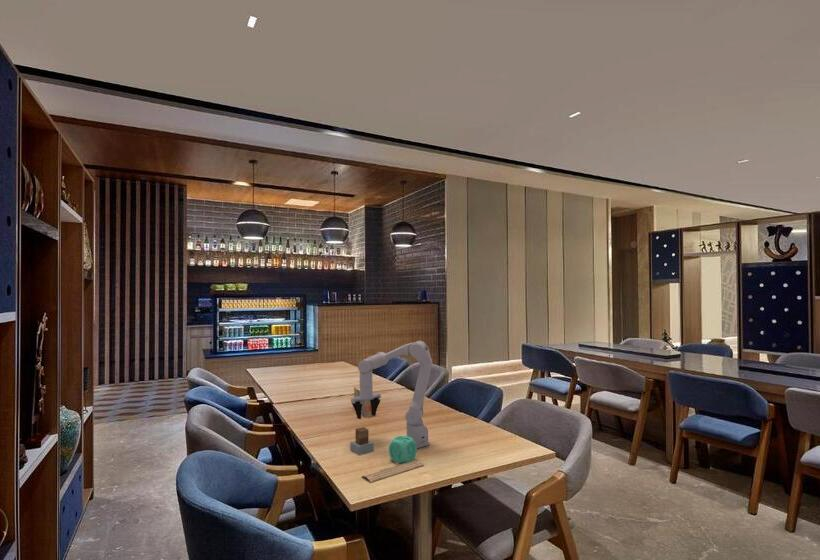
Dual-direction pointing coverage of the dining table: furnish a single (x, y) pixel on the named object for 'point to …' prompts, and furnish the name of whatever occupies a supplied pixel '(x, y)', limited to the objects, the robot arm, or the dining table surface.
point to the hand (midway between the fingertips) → (366, 416)
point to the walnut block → (361, 435)
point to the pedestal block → (361, 447)
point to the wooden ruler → (393, 470)
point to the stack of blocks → (363, 404)
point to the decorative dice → (402, 449)
